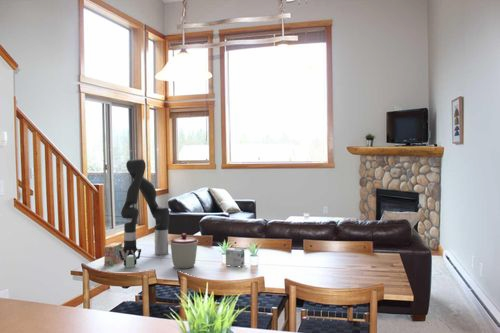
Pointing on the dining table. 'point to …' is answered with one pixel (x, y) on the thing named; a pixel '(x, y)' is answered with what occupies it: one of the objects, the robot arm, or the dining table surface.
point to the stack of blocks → (113, 254)
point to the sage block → (130, 261)
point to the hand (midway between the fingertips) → (130, 265)
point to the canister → (183, 251)
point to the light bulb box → (235, 257)
